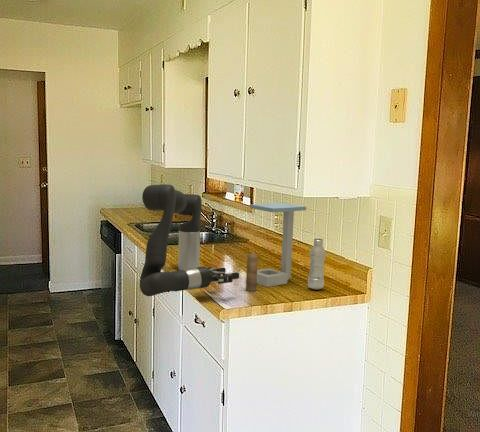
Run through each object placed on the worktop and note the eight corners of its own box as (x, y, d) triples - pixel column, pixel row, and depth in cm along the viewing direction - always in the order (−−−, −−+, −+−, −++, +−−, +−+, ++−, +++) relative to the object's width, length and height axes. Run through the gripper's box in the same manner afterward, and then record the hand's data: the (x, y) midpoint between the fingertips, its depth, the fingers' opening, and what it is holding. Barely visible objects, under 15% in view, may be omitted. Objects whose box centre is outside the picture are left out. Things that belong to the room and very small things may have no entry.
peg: (244, 288, 204) (246, 253, 202) (254, 288, 205) (256, 253, 203) (247, 291, 200) (248, 255, 198) (257, 291, 201) (258, 255, 199)
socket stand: (269, 287, 206) (272, 208, 202) (247, 279, 217) (250, 204, 213) (302, 281, 217) (306, 206, 213) (279, 274, 228) (283, 202, 224)
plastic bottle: (320, 286, 211) (323, 237, 208) (326, 291, 204) (329, 241, 202) (305, 286, 210) (307, 237, 207) (310, 291, 203) (313, 240, 200)
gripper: (206, 272, 179) (243, 266, 189) (184, 263, 191) (220, 259, 200) (205, 293, 180) (242, 287, 190) (184, 283, 192) (220, 278, 201)
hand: (231, 272), depth 195 cm, fingers open, 8 cm apart
